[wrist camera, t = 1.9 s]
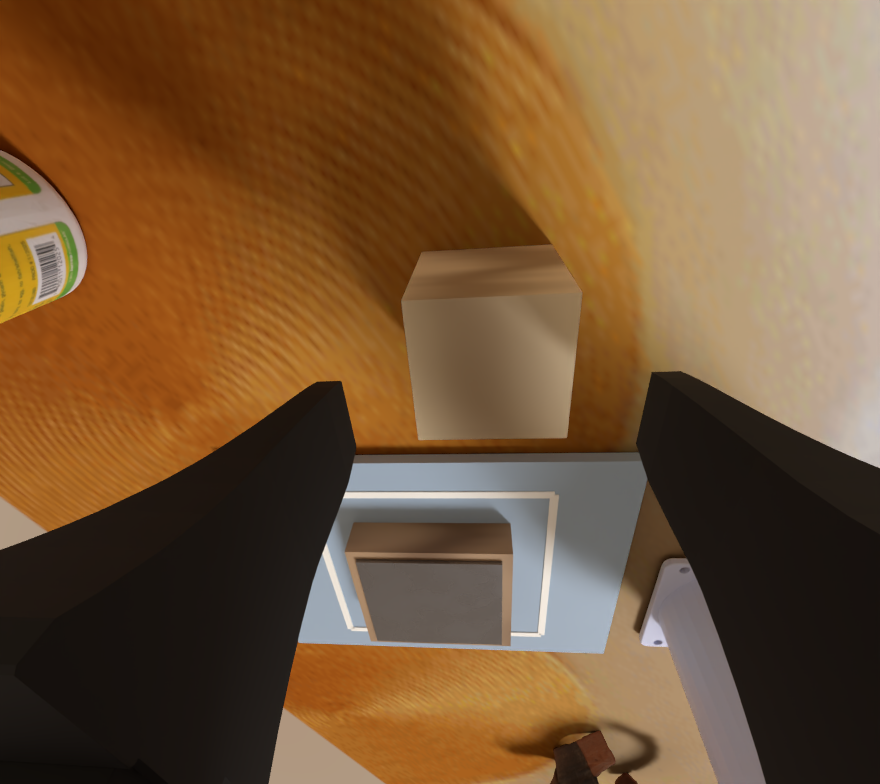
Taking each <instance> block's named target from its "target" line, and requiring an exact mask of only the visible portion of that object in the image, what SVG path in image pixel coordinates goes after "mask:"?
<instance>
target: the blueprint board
mask: <svg viewBox="0 0 880 784" xmlns="http://www.w3.org/2000/svg"><path fill="white" fill-rule="evenodd" d="M646 483H647V476H646V473H645V470H644V467H643V464H642V461H641V457H640V454H639V452H623V453H517V454H411V455H355V456H354V461H353V466H352V471H351V475H350V479H349V483H348V486H347V489H346V492H345V494H344V497H343V500H342V503H341V505H340V508H339V511H338V513H337V516H336V519H335V521H334V524H333V527H332V529H331V532H330V535H329V537H328V540H327V543H326V545H325V548H324V551H323V553H322V556H321V559H320V562H319V564H318V567H317V571H316V574H315V577H314V580H313V583H312V587H311V591H310V594H309V598H308V602H307V606H306V610H305V614H304V618H303V621H302V625H301V630H300V634H299V638H298V641H299V643H320V644H348V645H376V646H404V647H433V648H461V649H489V650H517V651H546V652H574V653H602V654H604V650H605V646H606V642H607V638H608V634H609V630H610V626H611V622H612V618H613V614H614V610H615V606H616V602H617V598H618V594H619V590H620V587H621V583H622V579H623V575H624V571H625V567H626V563H627V559H628V555H629V551H630V547H631V543H632V539H633V535H634V531H635V527H636V523H637V519H638V515H639V511H640V507H641V503H642V499H643V495H644V491H645V487H646Z"/></svg>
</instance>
